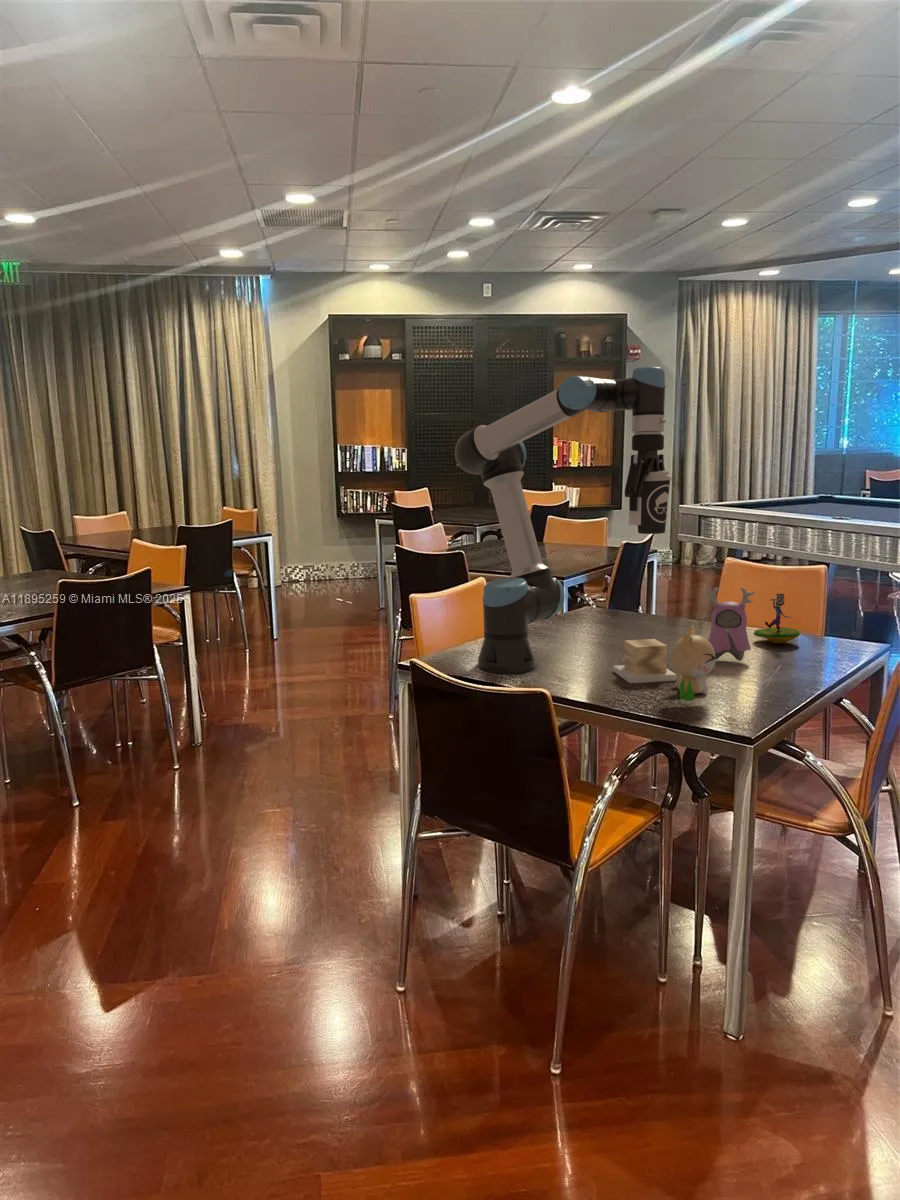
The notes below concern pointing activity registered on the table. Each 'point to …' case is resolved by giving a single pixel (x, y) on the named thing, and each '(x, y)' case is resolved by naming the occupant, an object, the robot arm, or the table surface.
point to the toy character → (729, 626)
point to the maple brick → (645, 656)
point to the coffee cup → (654, 502)
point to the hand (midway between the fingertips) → (646, 523)
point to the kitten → (692, 664)
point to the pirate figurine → (779, 632)
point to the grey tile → (643, 676)
